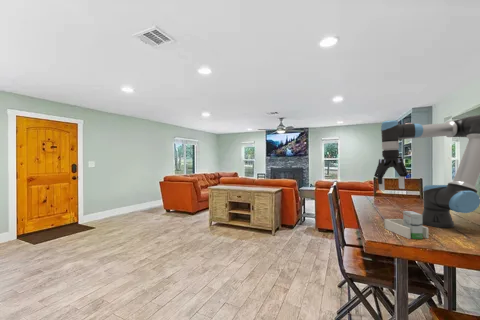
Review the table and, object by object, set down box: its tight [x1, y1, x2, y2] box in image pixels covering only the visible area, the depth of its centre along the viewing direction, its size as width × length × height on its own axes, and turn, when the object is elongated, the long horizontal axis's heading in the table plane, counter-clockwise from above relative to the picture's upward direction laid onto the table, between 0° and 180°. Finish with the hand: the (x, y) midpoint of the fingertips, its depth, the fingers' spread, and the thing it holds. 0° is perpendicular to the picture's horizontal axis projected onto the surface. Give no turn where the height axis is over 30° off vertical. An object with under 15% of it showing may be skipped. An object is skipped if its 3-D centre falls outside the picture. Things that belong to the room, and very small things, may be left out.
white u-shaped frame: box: [383, 218, 429, 240], centre depth 120 cm, size 10×18×5 cm, turn 3°
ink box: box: [402, 210, 424, 240], centre depth 115 cm, size 9×5×12 cm, turn 168°
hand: (391, 189), depth 124 cm, fingers open, 13 cm apart
